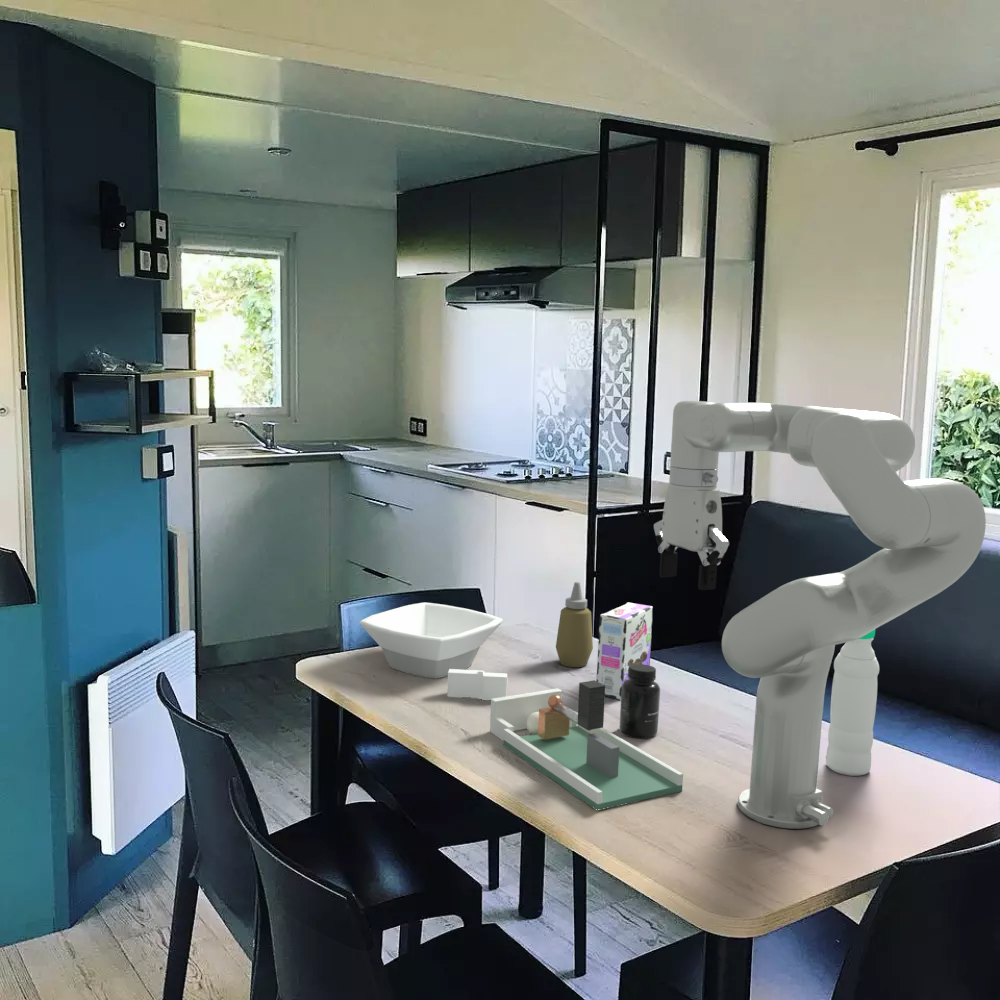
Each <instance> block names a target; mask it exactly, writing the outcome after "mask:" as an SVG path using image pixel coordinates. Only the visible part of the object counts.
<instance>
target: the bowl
mask: <svg viewBox="0 0 1000 1000" xmlns="http://www.w3.org/2000/svg"><path fill="white" fill-rule="evenodd" d="M503 622H504V620H503V618H501V617H499V616H498V617H497V616H496V615H492V614H489V613H485V612H481V611H478V610H474V609H469V608H464V607H460V606H459V607H458V606H454V605H448V604H440V603H433V602H419V603H412V604H408V605H403V606H400V607H397V608H396V607H395V608H393V609H389V610H385V611H382V612H378V613H375V614H371V615H370V616H368V617H365V618H363V619H361V620H360V621H359V625H360V626H361V627H362V628H363V629H364V630H365V632H366V633H367V634H369V636H370V637H371V638H372V639H373V640H374V641H375V643H377V645H378V646H379V647H380V648H381V649H382V652H383V654H384V656H385V658H386V661H387V663H388V666H389V667H390V668H392V669H394V670H397V671H399V672H402V673H406V674H409V675H413V676H418V677H421V678H422V677H423V678H426V679H427V678H428V679H434V680H435V679H441V678H445V677H448V671H449V669H461V670H467V669H468V668H469V667H470V666H472V665H473V662H474V661H475V658H476V656H477V654H478V652H479V650H480V647H481V646H483V645H484V643H485V642H487V640H488V639H490V637H491V635H492V634H493V633H494V632H495V631H496V630H497V629H498V628H499V626H500V625H501V624H503Z"/></svg>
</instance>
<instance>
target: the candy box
mask: <svg viewBox="0 0 1000 1000" xmlns="http://www.w3.org/2000/svg"><path fill="white" fill-rule="evenodd" d="M653 608H654V607H653V606H652V605H646V604H642V603H633V602H626V603H625V604H623V605H621V606H619V607H616V608H614V609H613V608H612V609H611V610H609V611H606V612H604V613H601V614H600V616H599V627H598V644H597V645H598V646H597V660H596V661H597V662H596V663H597V664H596V680H595V681H597V682H599V683H601V684H603V685H605V697H608V698H613V699H616V700H620V701H621V693H622V685H623V683H624V682H625V681H626V680H628V679H629V678H628V671H629V666H630V665H634V664H644V665H650V666H651V650H652V649H651V648H652V628H653V627H652V626H653V611H654V610H653Z"/></svg>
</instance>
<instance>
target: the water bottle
mask: <svg viewBox="0 0 1000 1000" xmlns="http://www.w3.org/2000/svg"><path fill="white" fill-rule="evenodd" d="M875 635H876V629H874V630H873V631H871V632H869V633H868V634H866V635H864V636H863V637H861V638H859V639H856V640H853V641H849V642H845V643H843V644H844V645H843V646H842V647H841V648H840V652H839V653H838V654H837V656H836V657H835V658H834V661H833V669H834V673H833V678H832V685H831V698H830V711H829V712H830V714H829V715H830V718H829V719H830V724H829V727H828V733H827V740H828V741H827V742H828V743H827V748H826V755H825V763H826V766H827V767H828V768H829V769H830V770H832V771H833V772H835V773H838V774H840V775H844V776H853V777H858V776H864V775H866V774H868V773H869V772H870V770H871V767H872V747H873V743H874V730H873V729H874V724H875V718H876V709H877V700H878V698H877V697H878V675H879V674H880V664H879V661H878V659H877V657H876V654H875V650H874V649H873V647H872V642H873V640H874V638H875V637H876V636H875Z"/></svg>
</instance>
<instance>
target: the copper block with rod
mask: <svg viewBox="0 0 1000 1000" xmlns="http://www.w3.org/2000/svg"><path fill="white" fill-rule="evenodd" d="M605 698H606V696H605V685H603V684H601V683H599V682H597V681H596V680H595V679H594V680H587V681H582V682H580V681H579V683H578V703H577V704H578V705H577V711H575V710H574V709H572V708H570V707H568V706H567V705H566V704H563V699H562V700H561V698H560V697H559V696H558V695H552V696H550V697H549V699H548V705H549V706H550V707H547V708H541V709H539V724H538V736H539V737H541V738H542V739H544V740H545V739H551V738H556V737H561V736H567V735H569V721H570V720H571V721H573V722H575V723H577V726H578V725H580V726H581V727H583V728H585V729H586V730H589V731H590V730H592V729H598V728H604V721H605V720H604V718H605V717H604V716H605V701H606V699H605Z"/></svg>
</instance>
